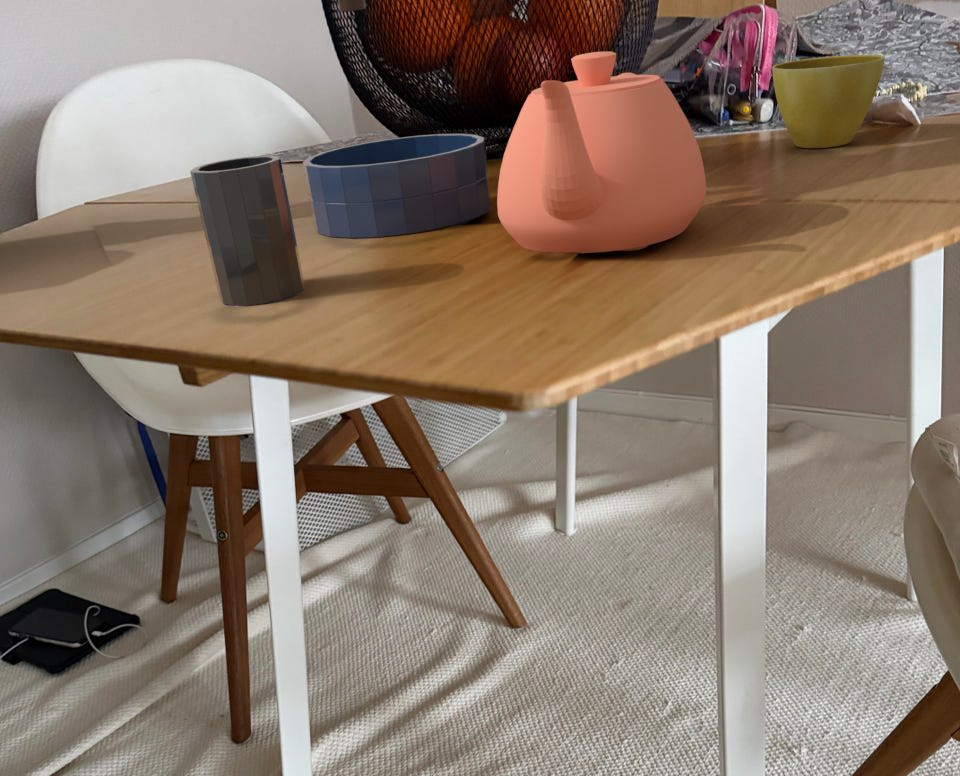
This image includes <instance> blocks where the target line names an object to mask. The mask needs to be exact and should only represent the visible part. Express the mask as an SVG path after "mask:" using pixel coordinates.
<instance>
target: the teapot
mask: <svg viewBox="0 0 960 776" xmlns="http://www.w3.org/2000/svg"><path fill="white" fill-rule="evenodd" d="M570 60H571V64H572V68H573V70H574V73H575V75H576V78H577V80H570V81H565V82H563V81H560V80H553V79H549V80H543V81H541V84H540V87H538V88H535V89H533V90H532V91H531V92H530V93H529V94H528V95H527V97H526V100H525V101H524V103H523V105H522V107H521V109H520V112H519V114H518V116H517V119H516V121H515V124H514V126H513V128H512V131H511V134H510V136H509V139H508V141H507V144H506V147H505V150H504V153H503V157H502V161H501V165H500V170H499V177H498V185H497V199H496V206H497V207H496V208H497V217H498V218H499V221H500V224H501V225H502V227H503V228H504V229H505V230H506V232H507V233H508V234H509V235H510V237H512V239H513V240H514V241H515V242H516V243H518V245H519V246H520V247H522V248H524V249H526V250H530V251H535V252H541V253H542V252H543V253H556V254H559V253H560V254H561V253H562V254H564V253H565V254H570V253H571V254H573V253H574V254H575V253H578V254H592V253H607V252H615V251H616V252H617V251H618V252H619V251H620V252H633V251H639V250H643V249H645V248H647V247H648V246H650V245H654V244H657V243H661V242H665V241H667V240H669V239H672V238H674V237H676V236H678V235H681V234H682V233H684V231H685V230H686V229H687V228H688V227H689V226H690V224H691V222H693V220H694V218H695V217H696V216H697V214H698V212H699V211H700V209H701V208H702V207H703V204H704V203H705V199H706V197H707V180H706V179H707V178H706V172H705V167H704V161H703V157H702V153H701V148H700V146H699V144H698V140H697V137H696V136H695V132H694V130H693V129H692V127H691V124H690V122H689V120H688V118H687V116H686V114H685V113H684V111H683V109H682V108H681V106H680V104H679V102H678V100H677V99H676V97H675V95H674V94H673V93H672V91H671V88H669V87H668V85H667V84H666V82H665V81H664V79H663V78H661V76H660V75H657V74H636V73H633V72H622V73H620V74H618V75H614V76H612V75H613V71H614V68H615V64H616V60H617V53H616V52H614V51H594V52H593V51H592V52H586V53H582V54H578V55H574V56H573V57H572V58H571V59H570Z"/></svg>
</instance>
